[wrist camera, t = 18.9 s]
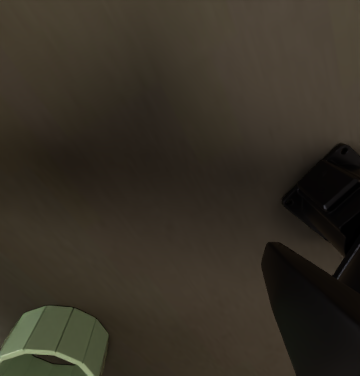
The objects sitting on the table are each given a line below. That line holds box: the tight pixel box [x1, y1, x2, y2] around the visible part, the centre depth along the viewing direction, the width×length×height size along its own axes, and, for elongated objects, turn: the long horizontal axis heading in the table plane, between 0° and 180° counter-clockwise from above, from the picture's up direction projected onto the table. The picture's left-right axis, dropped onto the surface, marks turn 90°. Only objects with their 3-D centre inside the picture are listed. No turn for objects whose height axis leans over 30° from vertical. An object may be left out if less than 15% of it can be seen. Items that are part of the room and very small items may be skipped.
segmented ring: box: [0, 305, 109, 376], centre depth 26 cm, size 10×10×4 cm
